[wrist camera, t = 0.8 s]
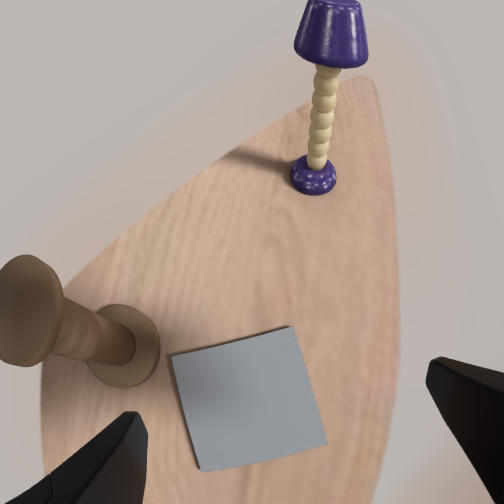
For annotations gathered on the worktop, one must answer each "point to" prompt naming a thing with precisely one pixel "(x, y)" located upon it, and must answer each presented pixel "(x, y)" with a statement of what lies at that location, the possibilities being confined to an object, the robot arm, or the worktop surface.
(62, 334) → the walnut stool
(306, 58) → the toy lamp
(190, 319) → the worktop surface
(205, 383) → the grey mat
